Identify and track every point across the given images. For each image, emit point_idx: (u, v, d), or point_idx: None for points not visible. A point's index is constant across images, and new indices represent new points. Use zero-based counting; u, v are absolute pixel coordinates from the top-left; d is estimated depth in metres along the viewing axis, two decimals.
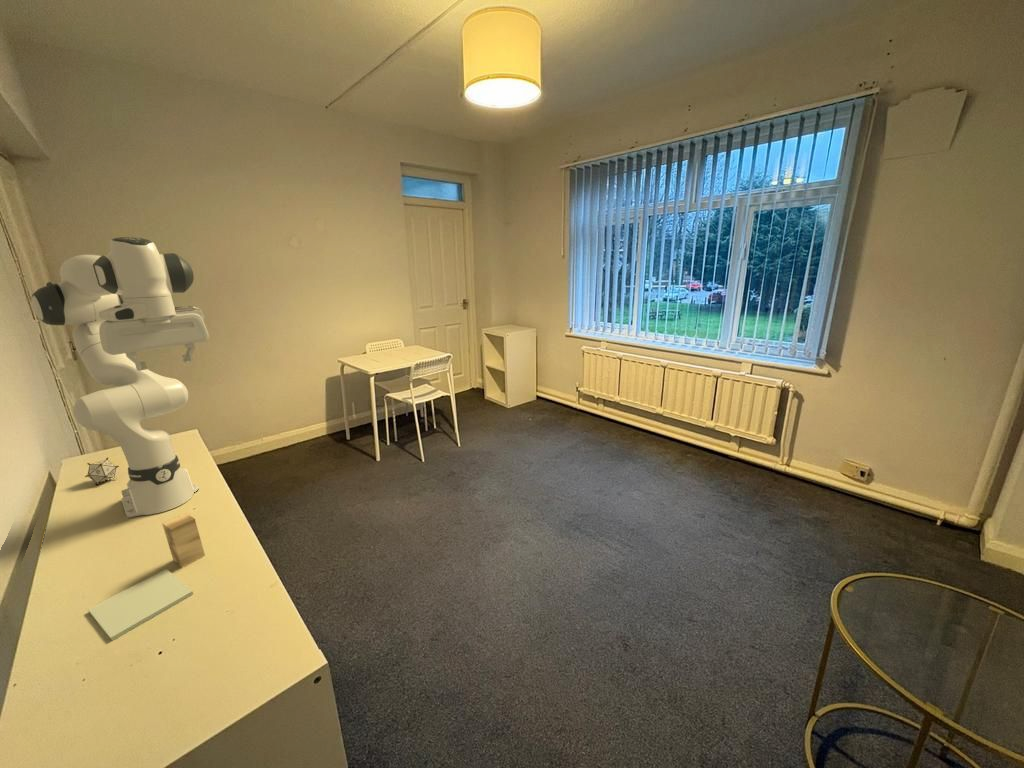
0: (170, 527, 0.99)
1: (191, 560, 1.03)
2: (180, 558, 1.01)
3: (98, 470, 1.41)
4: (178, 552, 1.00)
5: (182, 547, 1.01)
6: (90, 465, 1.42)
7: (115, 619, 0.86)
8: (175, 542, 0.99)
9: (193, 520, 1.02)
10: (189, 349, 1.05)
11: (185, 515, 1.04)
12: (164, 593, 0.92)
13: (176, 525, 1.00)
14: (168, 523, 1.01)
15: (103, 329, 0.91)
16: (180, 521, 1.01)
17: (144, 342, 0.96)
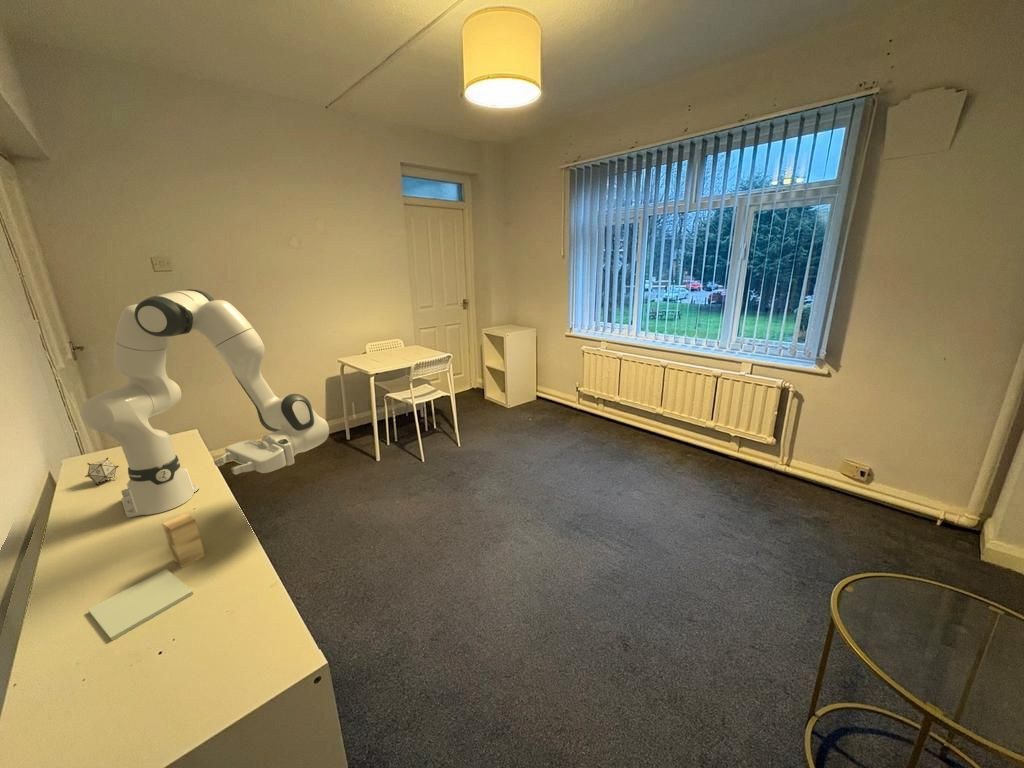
0: (170, 527, 0.99)
1: (191, 560, 1.03)
2: (180, 558, 1.01)
3: (98, 470, 1.41)
4: (178, 552, 1.00)
5: (182, 547, 1.01)
6: (90, 465, 1.42)
7: (115, 619, 0.86)
8: (175, 542, 0.99)
9: (193, 520, 1.02)
10: (226, 458, 1.14)
11: (185, 515, 1.04)
12: (164, 593, 0.92)
13: (176, 525, 1.00)
14: (168, 523, 1.01)
15: (282, 461, 1.13)
16: (180, 521, 1.01)
17: None
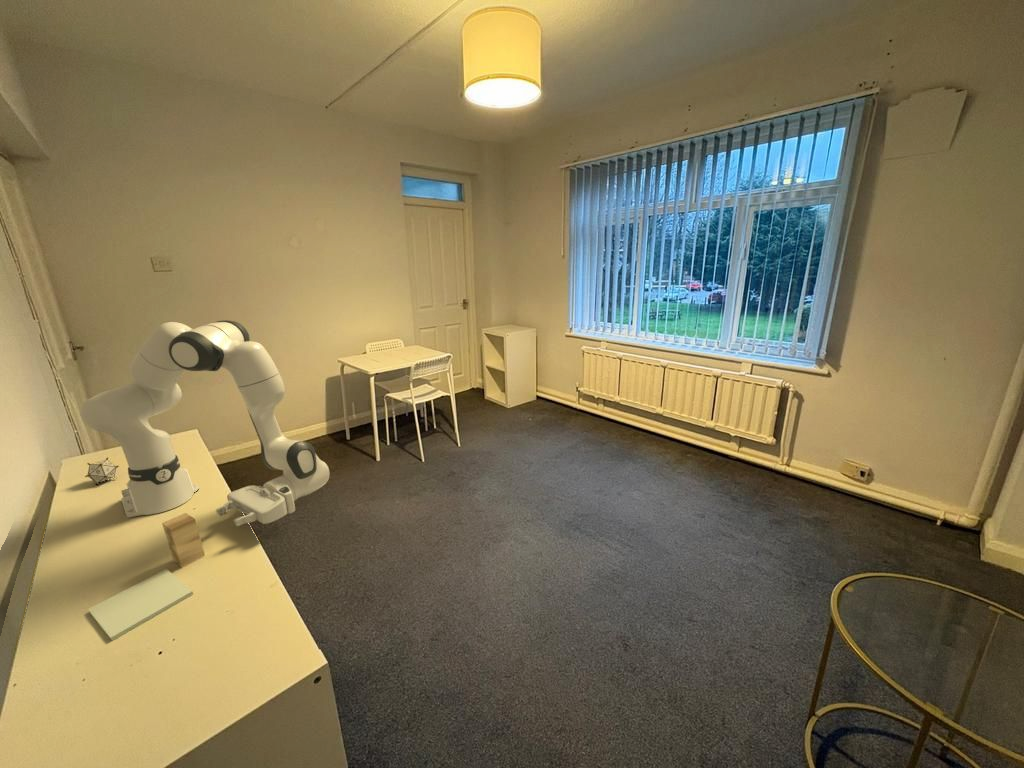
0: (170, 527, 0.99)
1: (191, 560, 1.03)
2: (180, 558, 1.01)
3: (98, 470, 1.41)
4: (178, 552, 1.00)
5: (182, 547, 1.01)
6: (90, 465, 1.42)
7: (115, 619, 0.86)
8: (175, 542, 0.99)
9: (193, 520, 1.02)
10: (228, 507, 1.16)
11: (185, 515, 1.04)
12: (164, 593, 0.92)
13: (176, 525, 1.00)
14: (168, 523, 1.01)
15: (284, 511, 1.15)
16: (180, 521, 1.01)
17: None
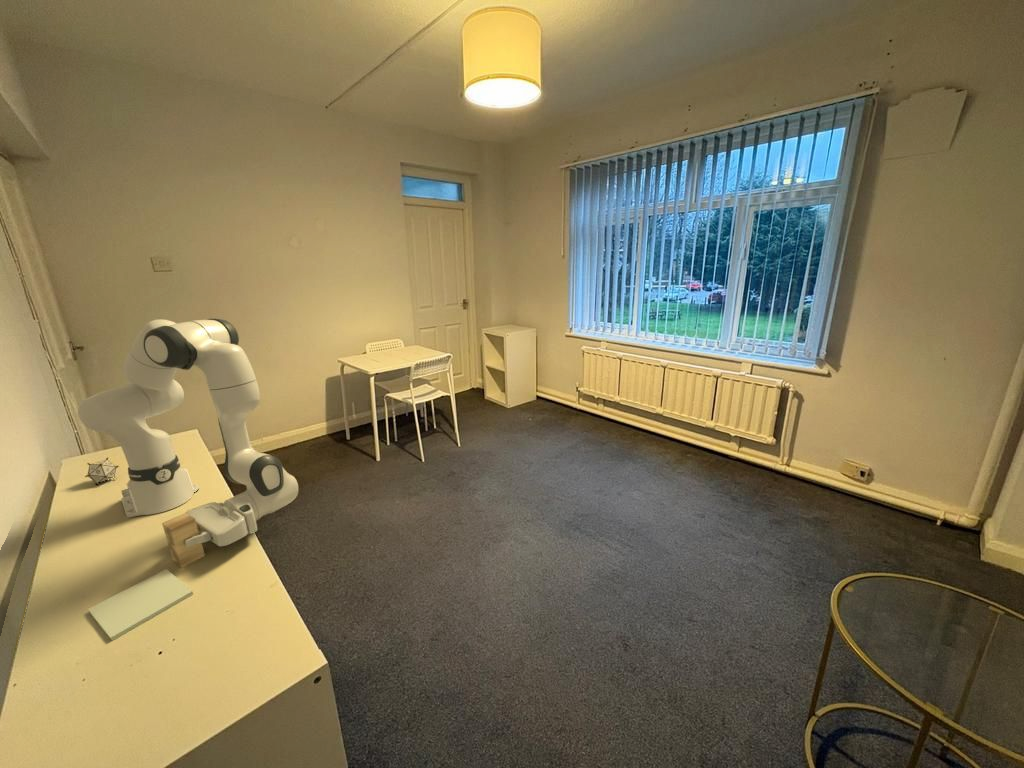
0: (170, 527, 0.99)
1: (191, 560, 1.03)
2: (180, 558, 1.01)
3: (98, 470, 1.41)
4: (178, 552, 1.00)
5: (182, 547, 1.01)
6: (90, 465, 1.42)
7: (115, 619, 0.86)
8: (175, 542, 0.99)
9: (193, 520, 1.02)
10: None
11: (185, 515, 1.04)
12: (164, 593, 0.92)
13: (176, 525, 1.00)
14: (167, 523, 1.01)
15: (243, 531, 1.06)
16: (179, 521, 1.01)
17: None
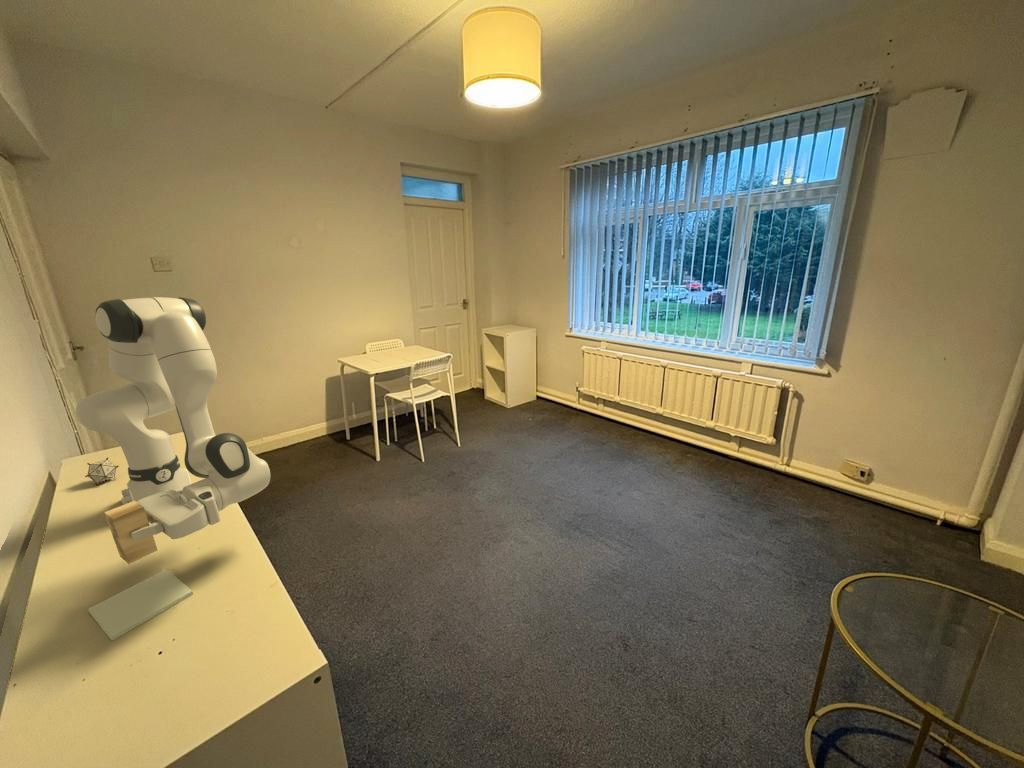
0: (113, 516, 0.84)
1: (140, 555, 0.88)
2: (126, 553, 0.86)
3: (98, 470, 1.41)
4: (123, 546, 0.85)
5: (128, 540, 0.86)
6: (90, 465, 1.42)
7: (115, 619, 0.86)
8: (119, 534, 0.85)
9: (141, 508, 0.87)
10: None
11: (133, 503, 0.89)
12: (164, 593, 0.92)
13: (120, 514, 0.85)
14: (111, 512, 0.86)
15: (202, 522, 0.91)
16: (125, 510, 0.87)
17: None
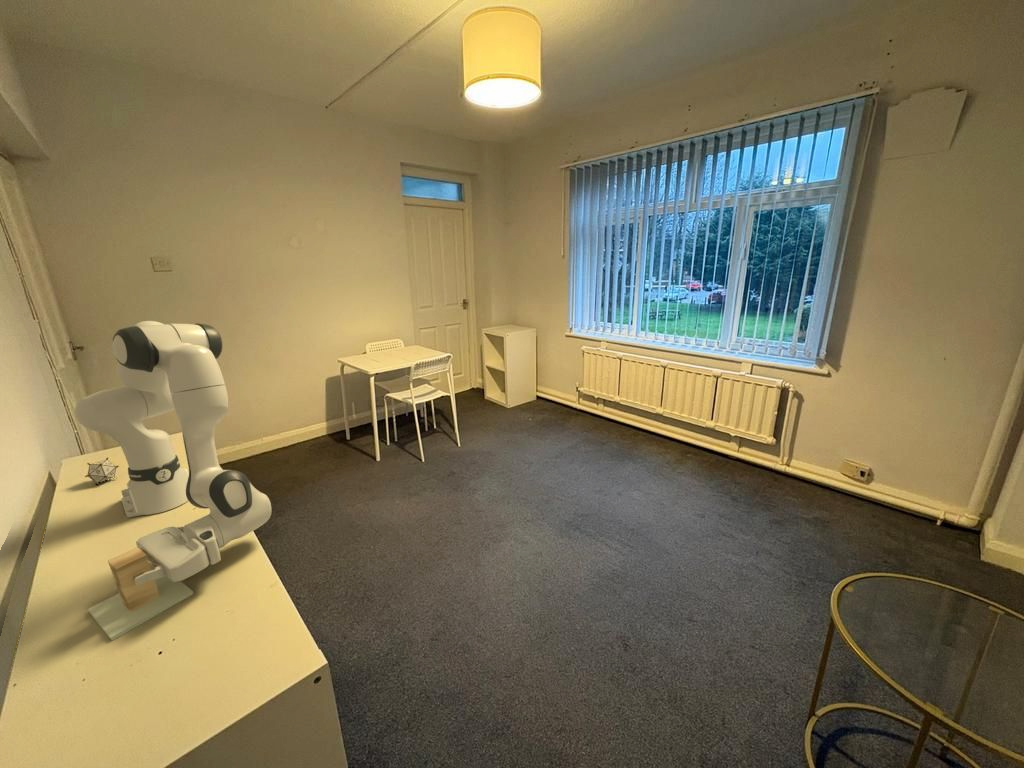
0: (116, 566, 0.85)
1: (142, 603, 0.89)
2: (129, 601, 0.87)
3: (98, 470, 1.41)
4: (126, 595, 0.86)
5: (131, 588, 0.87)
6: (90, 465, 1.42)
7: (115, 619, 0.86)
8: (122, 583, 0.85)
9: (144, 557, 0.88)
10: None
11: (136, 550, 0.90)
12: (164, 593, 0.92)
13: (123, 563, 0.86)
14: (114, 560, 0.87)
15: (203, 563, 0.92)
16: (128, 558, 0.87)
17: None
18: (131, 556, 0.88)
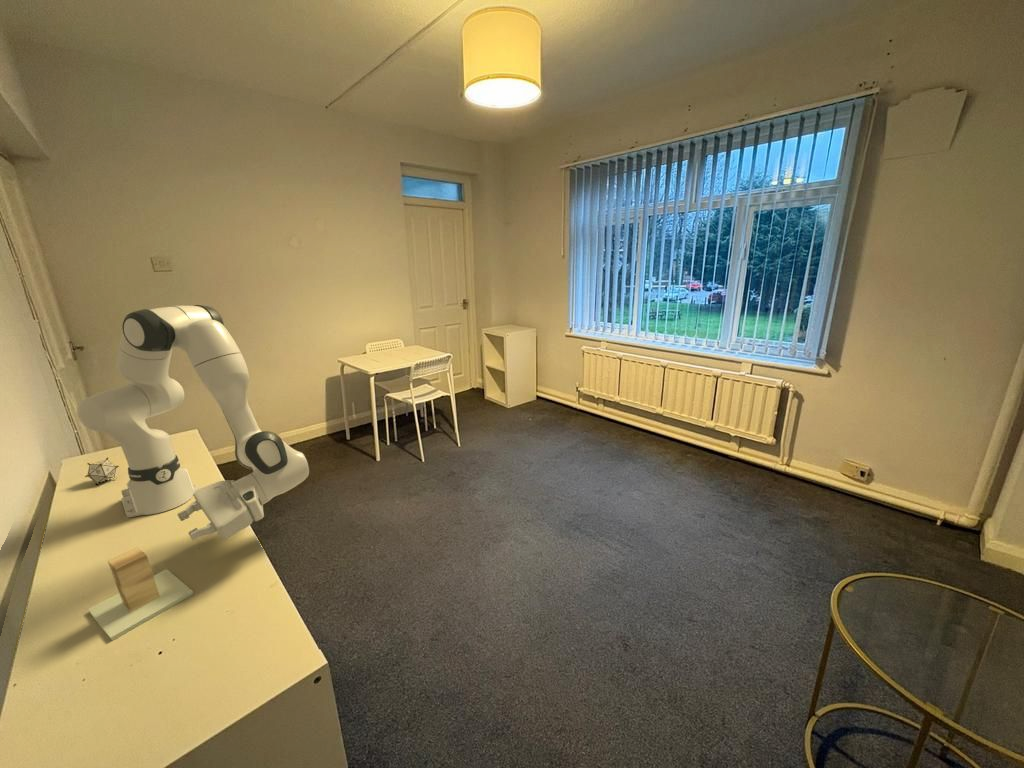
0: (116, 566, 0.85)
1: (142, 603, 0.89)
2: (128, 601, 0.87)
3: (98, 470, 1.41)
4: (126, 595, 0.86)
5: (131, 588, 0.87)
6: (90, 465, 1.42)
7: (115, 619, 0.86)
8: (122, 583, 0.85)
9: (144, 557, 0.88)
10: (192, 509, 1.04)
11: (136, 550, 0.90)
12: (164, 593, 0.92)
13: (123, 563, 0.86)
14: (114, 561, 0.87)
15: (246, 521, 1.00)
16: (128, 558, 0.87)
17: None
18: (131, 556, 0.88)
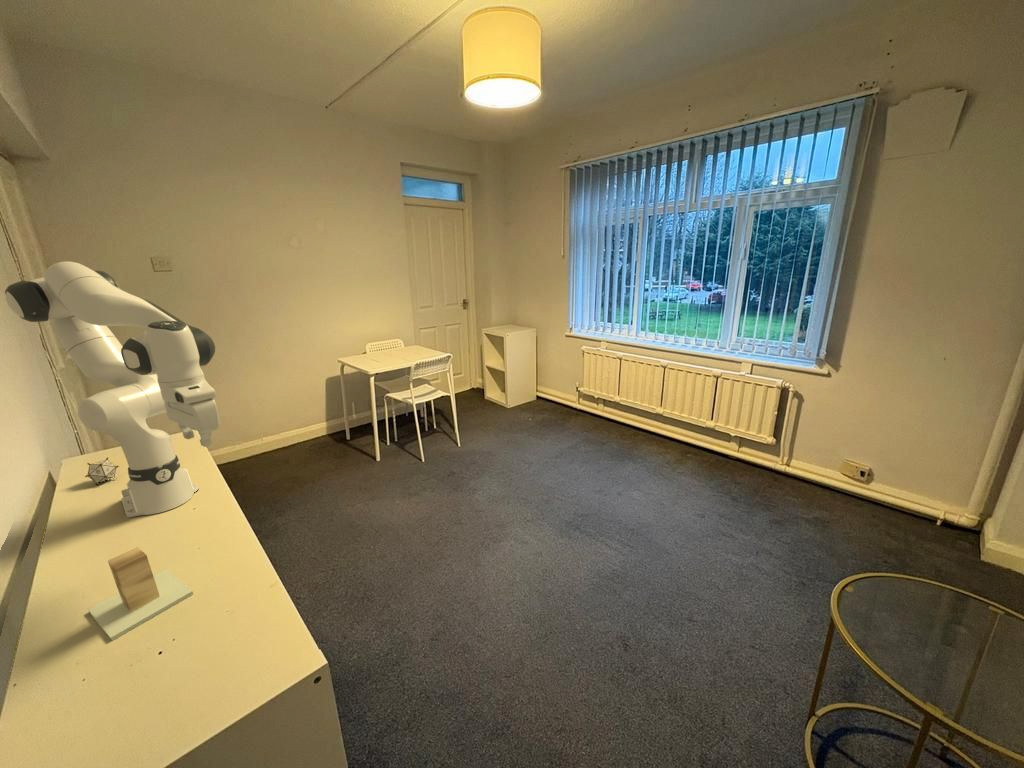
0: (116, 566, 0.85)
1: (142, 603, 0.89)
2: (128, 601, 0.87)
3: (98, 470, 1.41)
4: (126, 595, 0.86)
5: (131, 588, 0.87)
6: (90, 465, 1.42)
7: (115, 619, 0.86)
8: (122, 583, 0.85)
9: (144, 557, 0.88)
10: (186, 426, 1.05)
11: (136, 550, 0.90)
12: (164, 593, 0.92)
13: (123, 563, 0.86)
14: (114, 561, 0.87)
15: (209, 407, 0.96)
16: (128, 558, 0.87)
17: None
18: (131, 556, 0.88)
